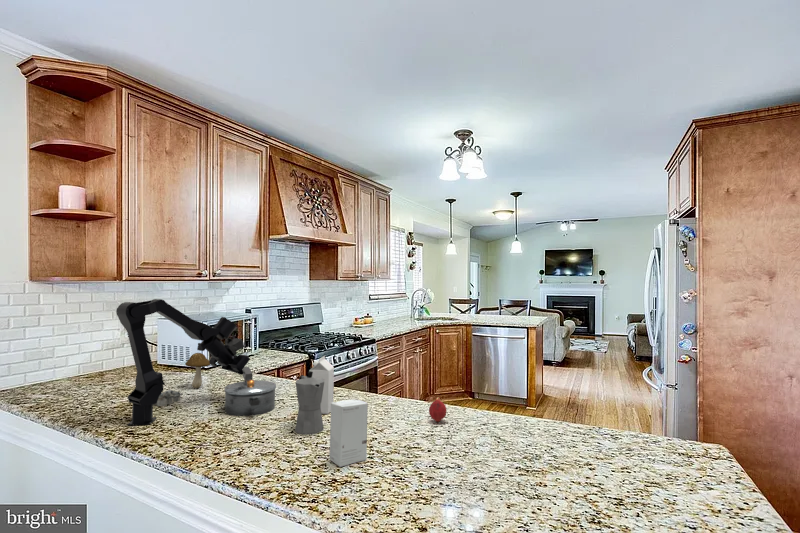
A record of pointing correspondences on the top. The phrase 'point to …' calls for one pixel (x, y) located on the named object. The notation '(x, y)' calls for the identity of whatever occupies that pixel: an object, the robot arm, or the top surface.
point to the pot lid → (249, 385)
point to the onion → (437, 410)
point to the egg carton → (168, 397)
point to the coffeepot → (309, 404)
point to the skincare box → (348, 432)
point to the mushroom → (197, 367)
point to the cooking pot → (249, 404)
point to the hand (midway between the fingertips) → (242, 373)
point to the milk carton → (325, 382)
